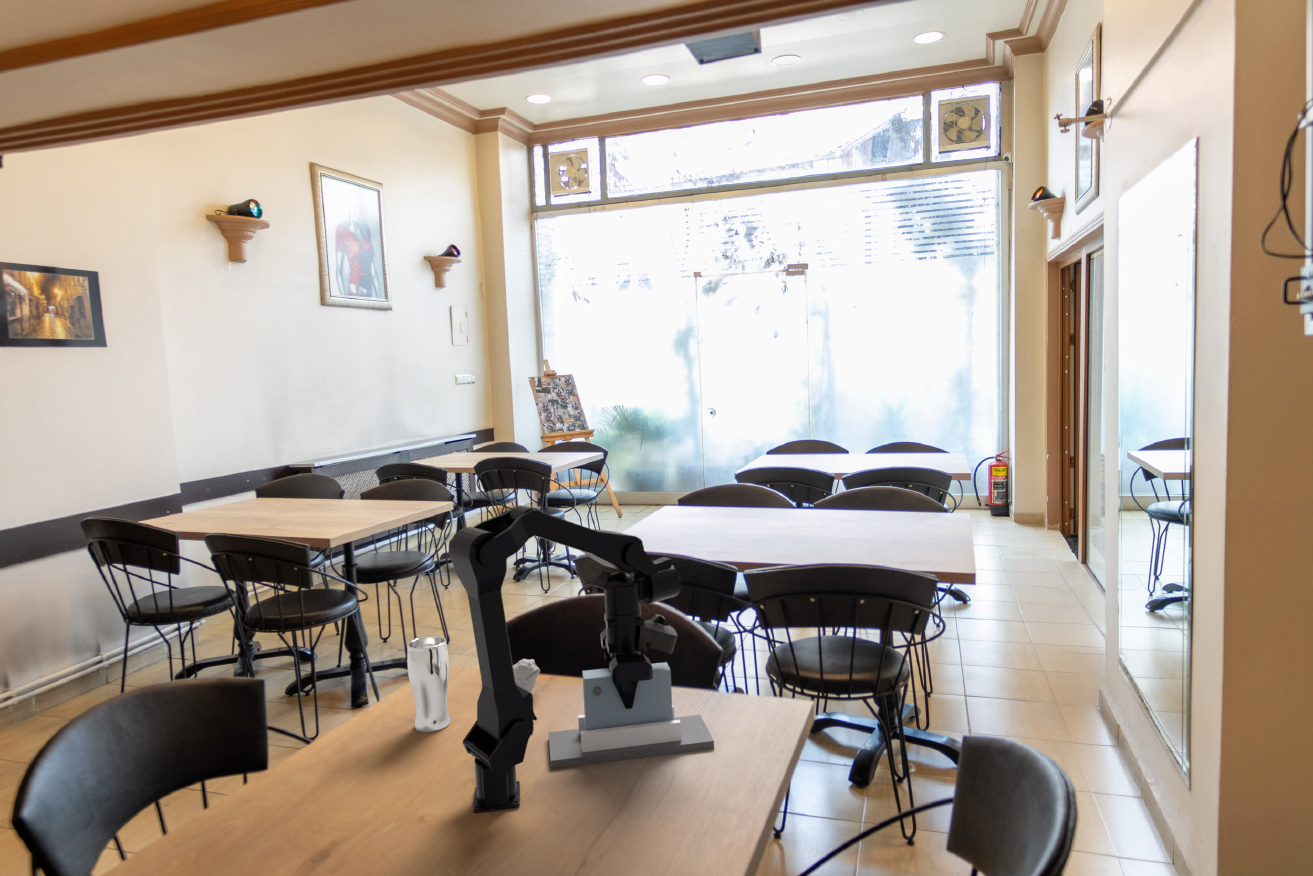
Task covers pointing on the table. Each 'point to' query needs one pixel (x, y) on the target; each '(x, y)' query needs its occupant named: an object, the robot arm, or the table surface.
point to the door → (609, 709)
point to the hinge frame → (628, 741)
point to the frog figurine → (526, 674)
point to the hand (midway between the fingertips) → (627, 703)
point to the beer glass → (429, 682)
